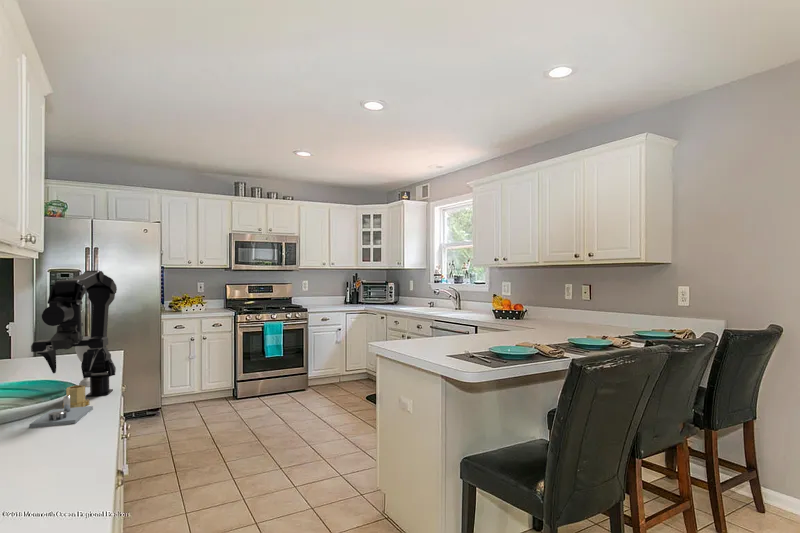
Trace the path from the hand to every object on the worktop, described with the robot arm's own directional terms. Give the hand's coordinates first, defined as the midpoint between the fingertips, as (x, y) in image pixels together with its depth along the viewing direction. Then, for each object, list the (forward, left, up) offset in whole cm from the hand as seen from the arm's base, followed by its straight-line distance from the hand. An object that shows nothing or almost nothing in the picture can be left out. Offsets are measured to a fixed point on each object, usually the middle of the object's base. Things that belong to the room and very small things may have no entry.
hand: (71, 371), depth 145 cm
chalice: (-36, -8, -12) cm, 38 cm away
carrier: (+6, 0, -12) cm, 14 cm away
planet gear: (-7, -1, -12) cm, 14 cm away
